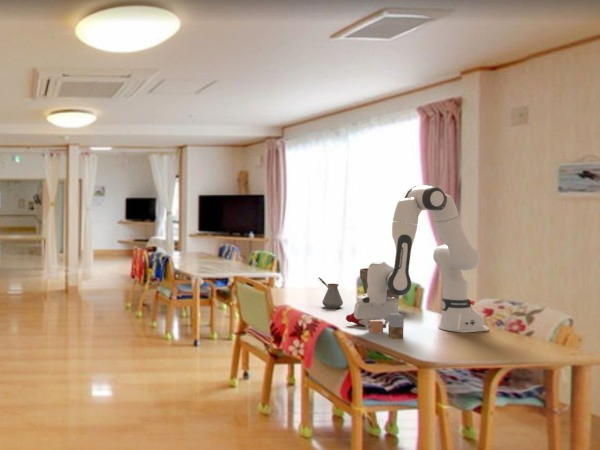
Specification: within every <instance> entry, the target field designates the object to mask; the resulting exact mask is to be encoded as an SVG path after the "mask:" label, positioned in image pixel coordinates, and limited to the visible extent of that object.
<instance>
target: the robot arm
mask: <svg viewBox="0 0 600 450" xmlns="http://www.w3.org/2000/svg"><path fill="white" fill-rule="evenodd" d="M422 211H431V212H432V214H433V219H434V224H435V227H436V230H437V234H438V235H437V236H438V237H439V238H440V240H441V241H443V242H444V244H442V245H438V246H437V247H436V248H435V249H434V250H433V254H432V255H433V261H434V262H435V263H436V265H437V267H438V268H439V270H440V273H441V278H442V283H443V284H442V285H443V287H442V295H443V296H442V298H441V310H442V311H441V317H440V323H439V325H438V328H439V329H441V330H443V331H448V332H449V331H450V332H457V333H473V332H474V333H475V332H486V331H487V332H488V331H489V327H488V326H486V325H485V324H484V318H483V316H482V314H480V313H479V312H478V311H476V310H475V309H474V308H473V307H472V306H475V305H476V302H475V300H472V299H471V300H470V299H469V298H468V297H469V296H468V292H469V291H468V288H469V284H468V280H466V278H465V277H464V276H463V275H464V274H463V273H462V271H470V270H471V271H472V270H475V269H477V268H478V266H479V265H480V263H481V253H480V252H479V251H478V250H477V249H476V248H475V247H474V246H472V244H471V242H470V241H469V240H468V238H467V236H466V234H465V232H464V230H463V227H462V222H461V220H460V215H459V211H458V208H457V206H456V203H455V200H454V198H453V197H452V196H451V195H450V194H446V193H445V192H444V190H443V189H441V188H440V187H437V186H435V185H434V186H433V185H415V186H412V187H410V188H409V189H408V190H407V192H406V193H405V196H404V198H402V199H399V200H398V202H397V204H396V206H395V210H394V213H393V218H392V225H391V233H392V234H391V237H392V240H393V242H394V245H395V258H394V265H393V266H394V267H393V266H391V265H389V264H387V263H386V261H376V262H372V263H370V264H369V265H368V267H367V268H368V273H367V283H368V288H367V293H366V294H365V293H364V294H360V295H358V296H356V301H357V302H355V305H354V311H353V312H354V317H355V318H356V319H364V322H365V324H366V326H365V329H367V330H369V329H370V325H369V324H368V323H367V321H368V319H380V320H382V319H383V320H384V321H383V329H387V325H388V324H389V314H397V313H399V298H398V299H396V298H387V289H389V290H390V291H391V292H392V293H393V294H395V295H399V296H404V295H406V294H407V293H408V292H409V291H410V290H411V287H412V281H411V276H410V272H409V271H410V270H409V269H410V263H411V261H410V260H411V253H412V247H413V245H414V242H415V237H416V234H417V230H418V224H419V216H420V214H421V212H422Z"/></svg>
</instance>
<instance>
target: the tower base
mask: <svg viewBox="0 0 600 450" xmlns="http://www.w3.org/2000/svg"><path fill="white" fill-rule="evenodd" d="M387 325H388V327H387V329H388V332H387V333H388V334H387V335H388V336H389V338H390V339H391V340H400V339H401V340H402V339H404V327H391V326H389V324H387Z"/></svg>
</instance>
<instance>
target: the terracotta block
mask: <svg viewBox="0 0 600 450" xmlns="http://www.w3.org/2000/svg"><path fill="white" fill-rule="evenodd" d="M383 324H384V321H382V319H380V320H369V325H370V329H368V332H370V333H371V334H383V333H384V328H383Z"/></svg>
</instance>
